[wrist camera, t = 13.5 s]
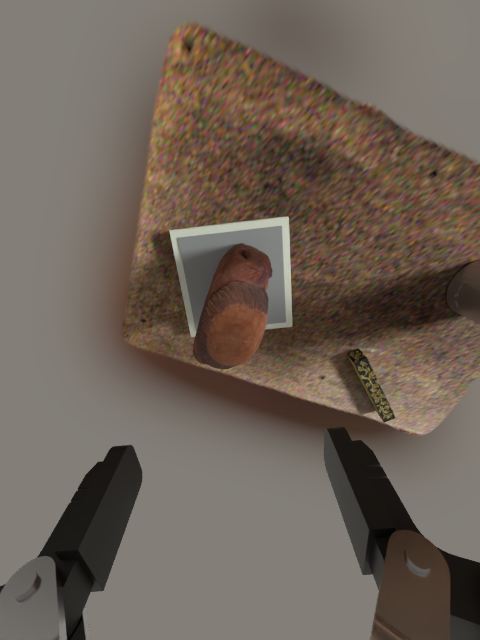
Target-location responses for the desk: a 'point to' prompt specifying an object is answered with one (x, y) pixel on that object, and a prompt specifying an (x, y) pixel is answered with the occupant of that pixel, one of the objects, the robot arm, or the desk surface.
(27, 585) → the robot arm
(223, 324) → the wooden figurine
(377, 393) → the decorative block
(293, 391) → the desk surface
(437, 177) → the desk surface
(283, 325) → the plinth
